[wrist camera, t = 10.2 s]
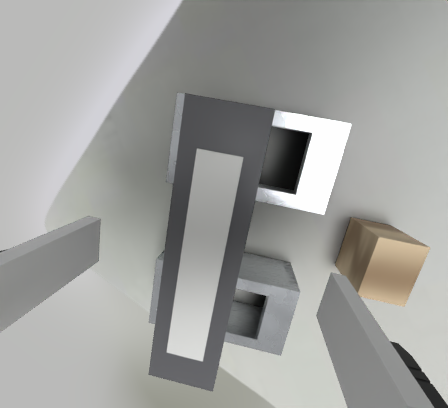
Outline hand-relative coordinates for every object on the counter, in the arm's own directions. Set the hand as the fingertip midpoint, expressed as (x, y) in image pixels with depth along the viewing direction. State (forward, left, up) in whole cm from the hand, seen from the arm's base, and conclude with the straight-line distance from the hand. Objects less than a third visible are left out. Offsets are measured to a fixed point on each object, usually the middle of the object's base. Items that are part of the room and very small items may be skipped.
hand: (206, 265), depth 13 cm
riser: (0, +13, -11) cm, 17 cm away
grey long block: (0, 0, -9) cm, 9 cm away
